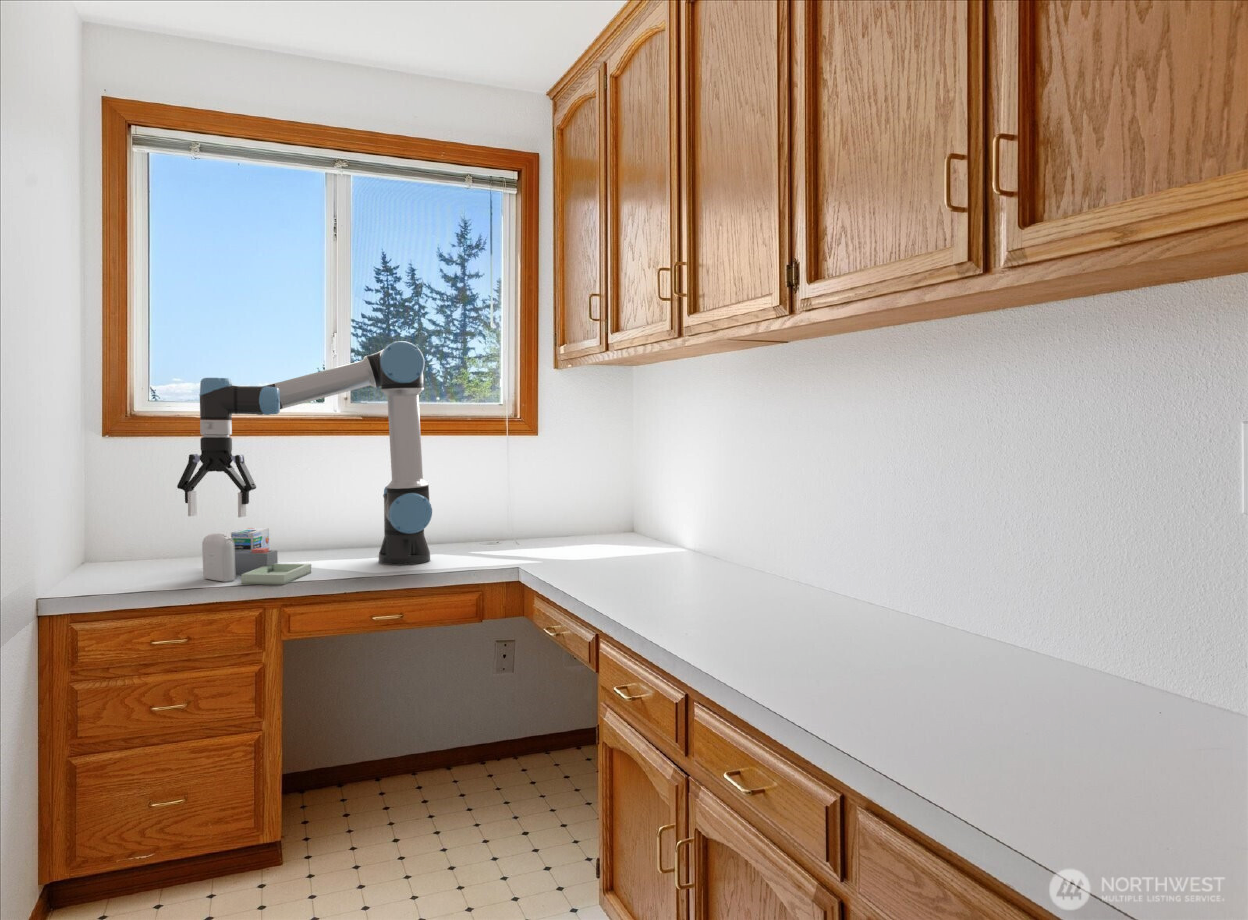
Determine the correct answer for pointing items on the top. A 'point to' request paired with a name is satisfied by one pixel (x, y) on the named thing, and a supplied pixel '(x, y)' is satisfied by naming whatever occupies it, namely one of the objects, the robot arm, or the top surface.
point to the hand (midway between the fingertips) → (217, 516)
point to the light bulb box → (251, 538)
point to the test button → (260, 550)
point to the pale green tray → (276, 574)
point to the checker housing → (253, 560)
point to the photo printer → (218, 557)
